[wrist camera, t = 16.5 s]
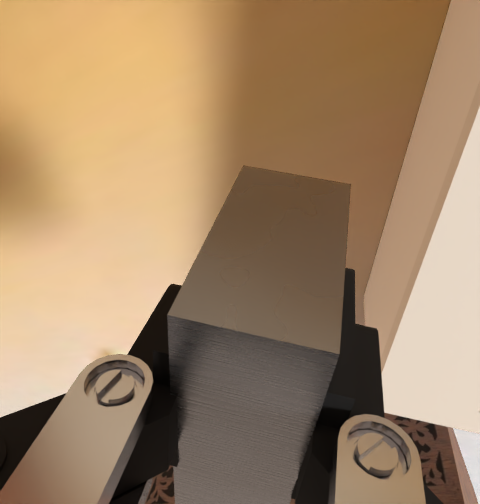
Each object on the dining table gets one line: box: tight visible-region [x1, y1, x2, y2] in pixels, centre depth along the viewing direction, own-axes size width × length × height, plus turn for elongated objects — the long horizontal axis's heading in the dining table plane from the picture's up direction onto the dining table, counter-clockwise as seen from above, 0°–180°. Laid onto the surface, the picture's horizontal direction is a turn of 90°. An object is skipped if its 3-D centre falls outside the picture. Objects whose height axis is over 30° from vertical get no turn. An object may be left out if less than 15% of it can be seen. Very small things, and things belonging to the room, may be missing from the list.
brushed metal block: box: [167, 166, 351, 504], centre depth 10 cm, size 5×2×7 cm
